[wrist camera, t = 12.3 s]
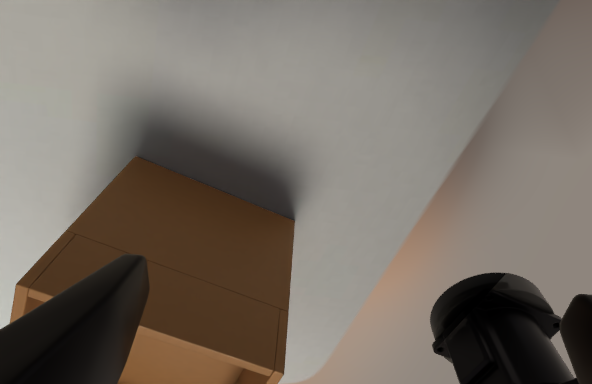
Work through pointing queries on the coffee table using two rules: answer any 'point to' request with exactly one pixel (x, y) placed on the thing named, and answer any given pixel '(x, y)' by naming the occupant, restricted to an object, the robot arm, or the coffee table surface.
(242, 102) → the coffee table surface
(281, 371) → the box
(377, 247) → the coffee table surface
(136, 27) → the coffee table surface
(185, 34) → the coffee table surface
